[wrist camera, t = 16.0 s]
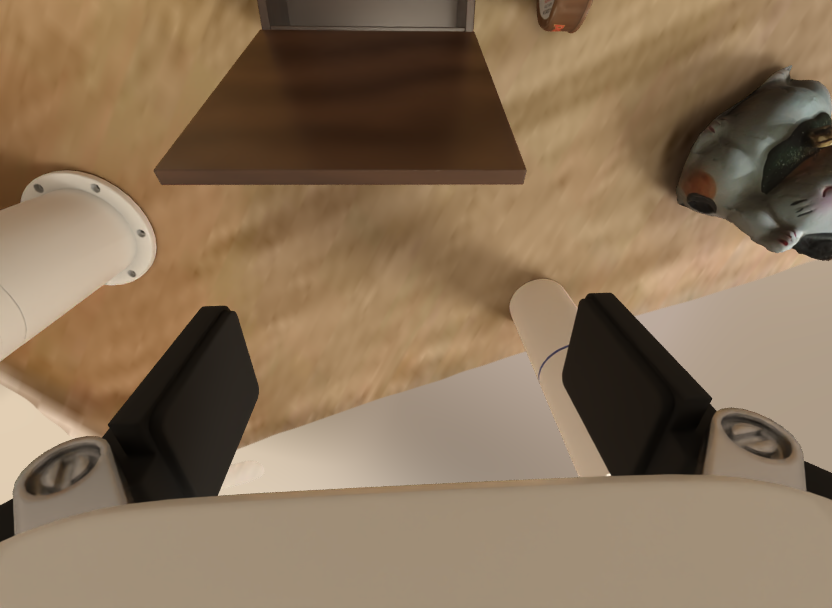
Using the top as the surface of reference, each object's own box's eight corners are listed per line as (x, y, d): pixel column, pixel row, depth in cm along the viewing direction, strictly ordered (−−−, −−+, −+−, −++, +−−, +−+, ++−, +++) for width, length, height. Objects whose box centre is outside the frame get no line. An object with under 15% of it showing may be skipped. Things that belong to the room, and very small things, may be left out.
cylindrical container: (542, 267, 46) (660, 444, 25) (578, 301, 49) (713, 487, 27) (497, 306, 49) (569, 495, 27) (534, 336, 51) (625, 530, 30)
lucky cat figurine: (819, 42, 35) (1033, 100, 26) (758, 156, 44) (901, 224, 36) (679, 122, 34) (856, 207, 26) (648, 220, 43) (769, 305, 35)
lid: (152, 170, 16) (161, 185, 16) (527, 170, 16) (523, 184, 17) (259, 29, 27) (262, 40, 28) (474, 31, 28) (473, 42, 28)
